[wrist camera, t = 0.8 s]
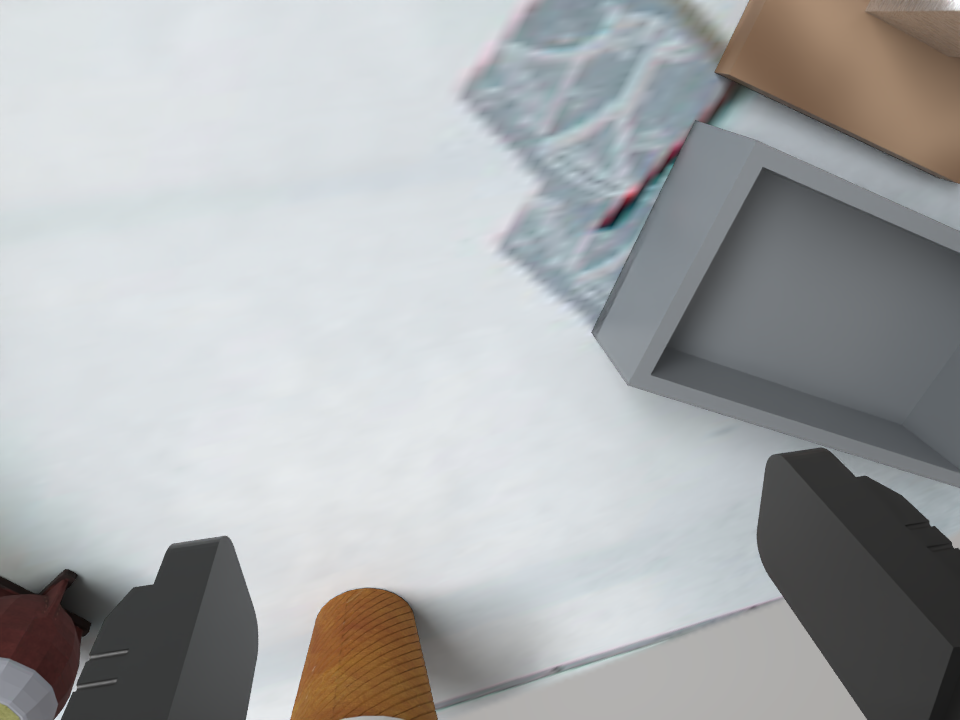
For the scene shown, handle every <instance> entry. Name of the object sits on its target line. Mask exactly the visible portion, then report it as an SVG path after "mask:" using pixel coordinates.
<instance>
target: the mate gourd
mask: <svg viewBox="0 0 960 720" xmlns="http://www.w3.org/2000/svg"><path fill="white" fill-rule="evenodd" d="M76 577H77V574H76V573H74V572H72V571H70V570H68V569H65V570H64V571H63V572H61V573H60V574H59V575H58V576H57V577H56V578H55V579H54V580H53V581H52V582H51V583H50V584H49V585H48V586H47V587H46V588H45V589H44V590H43V591H42V592H40V593H39V594H35V593H32V592H30V591H28V590H26V589H24V588H22V587H20V586H18V585H16V584H14V583H12V582H10V581H8V580H6V579H4V578H2V577H0V720H54V719H55V718H56V717H57V715H58V714H59V713H60V712H61V710H62V709H63V707H64V706H65V704H66V702H67V700H68V699H69V697H70V694H71V690H72V687H73V684H74V681H75V678H76V674H77V671H78V668H79V659H80V643H81V637H82V636H85V635H86V634H87V633H88V632H89V630H90V626H91V623H90V622H88V621H86V620H85V619H83V618H81V617H79V616H77V615H75V614H73V613H71V612H69V611H67V610H65V609H63V608H62V606H61V605H60V602H61V600H62V597H63V595H64V592H65V591H66V590H67V589H68V588H69V587H70V586H71V584H72V583H73V582H74V581H75V580H76Z"/></svg>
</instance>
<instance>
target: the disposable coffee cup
mask: <svg viewBox="0 0 960 720" xmlns="http://www.w3.org/2000/svg"><path fill="white" fill-rule="evenodd" d="M417 633H418V632H417V628H416V623H415V619H414V614H413V611H412V609H411V608H410V606H409V605H408V603H407V602H405V601H404V600H403V599H402V598H401V597H399V596H397V595H395V594H394V593H391V592H388V591H385V590H380V589H373V588H364V589H356V590H351V591H347V592H345V593H343V594H341V595H338V596H336V597H334V598H333V599H331V600H330V601H329V602H328V603H327V604H326V605H325V606H323V607H322V609H321V611H320V612H319V614H318V615H317V618H316V621H315V626H314V630H313V634H312V638H311V642H310V645H309V650H308V653H307V657H306V661H305V665H304V669H303V672H302V676H301V680H300V684H299V688H298V692H297V696H296V699H295V704H294V707H293V711H292V715H291V719H290V720H437V719H438V718H437V715H436V711H435V706H434V702H432V701H433V697H432V693H431V692H430V691H431V688H430V685H429V679H428V676H427V671H426V667H425V666H424V665H425V662H424V658H423V654H422V650H421V645H420V642H419V636H418V634H417Z"/></svg>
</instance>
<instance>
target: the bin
mask: <svg viewBox="0 0 960 720" xmlns="http://www.w3.org/2000/svg"><path fill="white" fill-rule="evenodd" d="M591 333H592V334H593V335H594V337H595V338H596V340H597V341H598V343H599V344H600V346H601V347H602V349H603V350H604V352H605V353H606V354H607V356H608V357H609V359H610V360H611V362H612V363H613V365H614V366H615V368H616V369H617V370H618V372H619V373H620V375H621V376H622V378H623V379H624V381H625V382H626V384H627V385H629V386H632V387H635V388H638V389H642V390H645V391H648V392H651V393H654V394H658V395H661V396H664V397H667V398H671V399H674V400H677V401H680V402H684V403H687V404H690V405H693V406H697V407H700V408H703V409H706V410H710V411H713V412H716V413H719V414H722V415H726V416H729V417H732V418H735V419H739V420H742V421H745V422H748V423H752V424H755V425H758V426H761V427H765V428H768V429H771V430H774V431H778V432H781V433H784V434H787V435H790V436H794V437H797V438H800V439H803V440H807V441H810V442H813V443H816V444H820V445H823V446H826V447H829V448H833V449H836V450H839V451H842V452H846V453H849V454H852V455H855V456H858V457H862V458H865V459H868V460H871V461H875V462H878V463H881V464H884V465H888V466H891V467H894V468H897V469H901V470H904V471H907V472H910V473H914V474H917V475H920V476H923V477H927V478H930V479H933V480H936V481H939V482H943V483H946V484H949V485H952V486H956V487H959V488H960V231H958V230H955V229H953V228H951V227H949V226H946V225H944V224H942V223H940V222H938V221H935V220H933V219H931V218H929V217H926V216H924V215H922V214H920V213H918V212H915V211H913V210H911V209H909V208H906V207H904V206H902V205H900V204H897V203H895V202H893V201H891V200H889V199H886V198H884V197H882V196H880V195H877V194H875V193H873V192H871V191H869V190H866V189H864V188H862V187H860V186H857V185H855V184H853V183H851V182H848V181H846V180H844V179H842V178H840V177H837V176H835V175H833V174H831V173H828V172H826V171H824V170H822V169H820V168H817V167H815V166H813V165H811V164H808V163H806V162H804V161H802V160H799V159H797V158H795V157H793V156H791V155H788V154H786V153H784V152H782V151H779V150H777V149H775V148H773V147H770V146H768V145H766V144H764V143H762V142H759V141H757V140H754V139H751V138H748V137H745V136H742V135H739V134H736V133H733V132H730V131H727V130H723V129H720V128H717V127H714V126H711V125H708V124H705V123H702V122H699V121H696V120H695V122H694V124H693V126H692V128H691V130H690V132H689V134H688V136H687V138H686V140H685V142H684V144H683V146H682V149H681V151H680V153H679V155H678V157H677V159H676V161H675V163H674V165H673V167H672V169H671V171H670V173H669V175H668V177H667V179H666V181H665V183H664V185H663V187H662V189H661V191H660V193H659V195H658V198H657V200H656V202H655V204H654V206H653V208H652V210H651V212H650V214H649V216H648V218H647V220H646V222H645V224H644V226H643V228H642V230H641V232H640V234H639V236H638V238H637V240H636V242H635V244H634V247H633V249H632V251H631V253H630V255H629V257H628V259H627V261H626V263H625V265H624V267H623V269H622V271H621V273H620V275H619V277H618V279H617V281H616V283H615V285H614V287H613V289H612V291H611V293H610V295H609V298H608V300H607V302H606V304H605V306H604V308H603V310H602V312H601V314H600V316H599V318H598V320H597V322H596V324H595V326H594V328H593V330H592V332H591Z"/></svg>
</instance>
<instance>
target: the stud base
mask: <svg viewBox="0 0 960 720" xmlns="http://www.w3.org/2000/svg"><path fill="white" fill-rule="evenodd" d="M870 1H871V0H749V2H748V5H747V7H746V9H745V11H744V13H743V15H742V17H741V19H740V21H739V23H738V25H737V27H736V29H735V31H734V33H733V35H732V37H731V39H730V41H729V44H728V46H727V48H726V50H725V52H724V54H723V56H722V58H721V60H720V62H719V64H718V66H717V68H716V70H715V73H718V74H720V75H722V76H724V77H726V78H728V79H730V80H732V81H735V82H737V83H739V84H741V85H743V86H745V87H747V88H749V89H751V90H754V91H756V92H758V93H760V94H762V95H764V96H766V97H768V98H770V99H773V100H775V101H777V102H779V103H781V104H783V105H785V106H787V107H790V108H792V109H794V110H796V111H798V112H800V113H802V114H804V115H806V116H809V117H811V118H813V119H815V120H817V121H819V122H821V123H823V124H826V125H828V126H830V127H832V128H834V129H836V130H838V131H840V132H842V133H845V134H847V135H849V136H851V137H853V138H855V139H857V140H859V141H861V142H864V143H866V144H868V145H870V146H872V147H874V148H876V149H878V150H881V151H883V152H885V153H887V154H889V155H891V156H893V157H895V158H897V159H900V160H902V161H904V162H906V163H908V164H910V165H912V166H914V167H916V168H919V169H921V170H923V171H925V172H927V173H929V174H931V175H933V176H936V177H938V178H941V179H945V180H948V181H951V182H955V183H958V184H960V57H948V56H947V55H945V54H943V53H941V52H939V51H937V50H935V49H934V48H932V47H930V46H928V45H926V44H924V43H923V42H921V41H919V40H917V39H915V38H913V37H911V36H910V35H908V34H906V33H904V32H902V31H900V30H899V29H897V28H895V27H893V26H891V25H889V24H887V23H886V22H884V21H882V20H880V19H878V18H876V17H874V16H873V15H871V14H869V13H867V12H865V10H866V8H867V6H868V5H869V3H870Z"/></svg>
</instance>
